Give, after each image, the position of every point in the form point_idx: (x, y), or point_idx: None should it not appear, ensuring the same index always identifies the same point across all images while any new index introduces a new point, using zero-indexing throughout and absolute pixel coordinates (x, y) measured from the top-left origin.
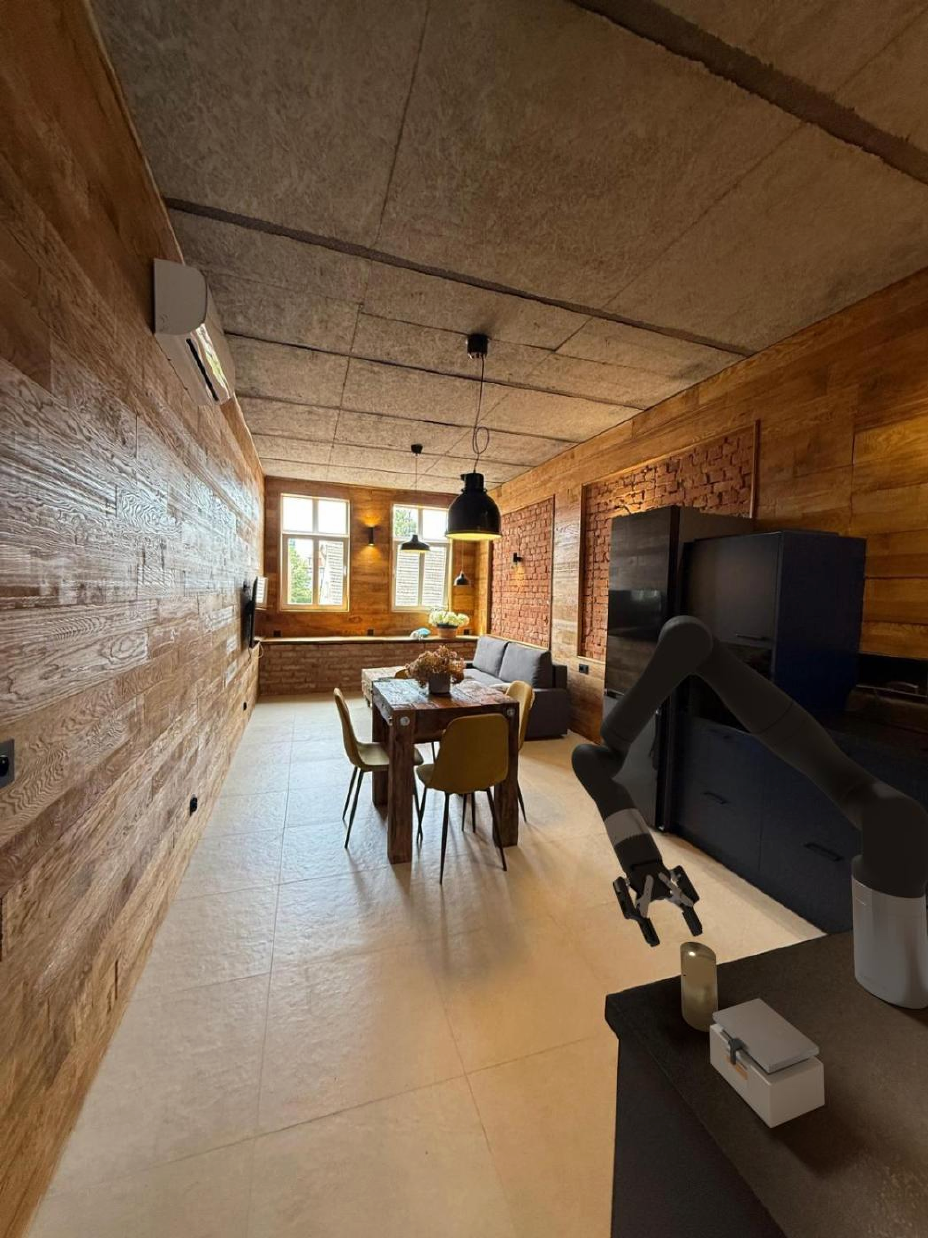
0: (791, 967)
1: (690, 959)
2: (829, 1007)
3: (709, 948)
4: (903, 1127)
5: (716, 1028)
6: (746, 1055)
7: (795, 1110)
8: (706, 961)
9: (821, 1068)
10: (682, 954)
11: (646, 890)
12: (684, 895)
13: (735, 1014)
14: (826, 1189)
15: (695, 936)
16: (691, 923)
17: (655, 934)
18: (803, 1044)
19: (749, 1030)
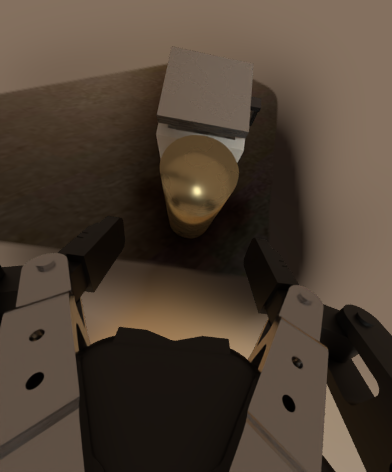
0: None
1: (235, 163)
2: (21, 157)
3: (161, 163)
4: (133, 77)
5: (238, 143)
6: None
7: None
8: (208, 142)
9: None
10: (235, 184)
11: (303, 399)
12: (22, 295)
13: (220, 115)
14: None
15: (123, 237)
16: (110, 245)
17: (265, 248)
18: (184, 55)
19: (227, 94)
